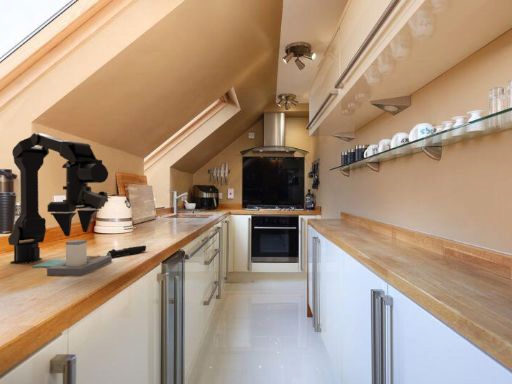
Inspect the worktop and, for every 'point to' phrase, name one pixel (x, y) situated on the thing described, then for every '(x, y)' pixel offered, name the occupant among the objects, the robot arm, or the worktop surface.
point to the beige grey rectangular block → (76, 253)
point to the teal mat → (50, 263)
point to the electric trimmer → (126, 251)
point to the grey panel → (91, 265)
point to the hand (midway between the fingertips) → (76, 234)
